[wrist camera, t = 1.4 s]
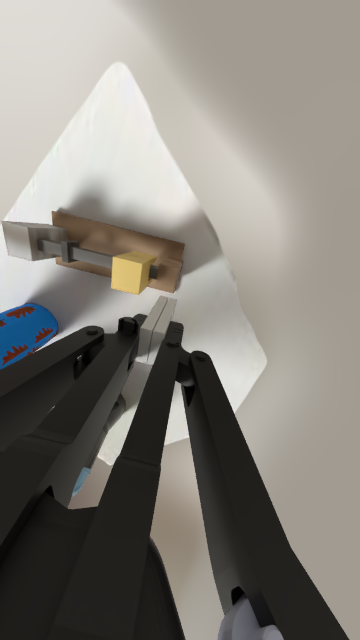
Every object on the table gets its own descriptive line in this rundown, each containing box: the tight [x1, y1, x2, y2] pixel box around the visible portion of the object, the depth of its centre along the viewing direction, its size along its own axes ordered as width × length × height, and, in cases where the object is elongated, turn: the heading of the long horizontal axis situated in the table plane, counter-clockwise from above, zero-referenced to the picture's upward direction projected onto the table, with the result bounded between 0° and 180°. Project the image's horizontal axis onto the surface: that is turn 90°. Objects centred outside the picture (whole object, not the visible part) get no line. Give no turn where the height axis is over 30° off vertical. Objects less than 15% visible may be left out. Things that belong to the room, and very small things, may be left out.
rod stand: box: [2, 211, 184, 293], centre depth 33 cm, size 10×28×10 cm, turn 77°
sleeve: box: [111, 251, 157, 295], centre depth 29 cm, size 4×4×9 cm
